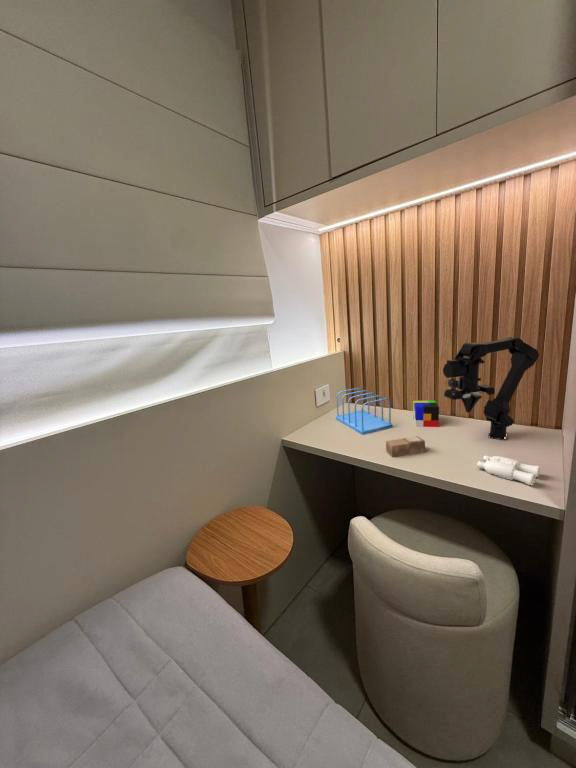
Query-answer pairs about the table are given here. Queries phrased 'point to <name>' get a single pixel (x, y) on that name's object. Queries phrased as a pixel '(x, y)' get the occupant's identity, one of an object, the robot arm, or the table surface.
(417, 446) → the walnut block
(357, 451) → the table surface
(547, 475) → the table surface
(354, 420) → the file sorter
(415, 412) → the puzzle toy
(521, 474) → the binoculars
